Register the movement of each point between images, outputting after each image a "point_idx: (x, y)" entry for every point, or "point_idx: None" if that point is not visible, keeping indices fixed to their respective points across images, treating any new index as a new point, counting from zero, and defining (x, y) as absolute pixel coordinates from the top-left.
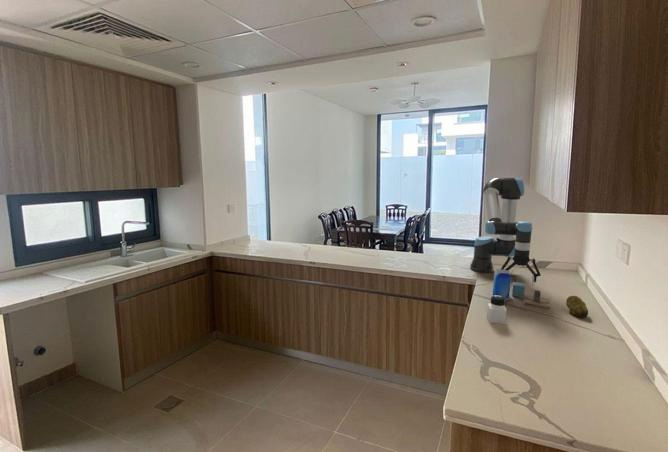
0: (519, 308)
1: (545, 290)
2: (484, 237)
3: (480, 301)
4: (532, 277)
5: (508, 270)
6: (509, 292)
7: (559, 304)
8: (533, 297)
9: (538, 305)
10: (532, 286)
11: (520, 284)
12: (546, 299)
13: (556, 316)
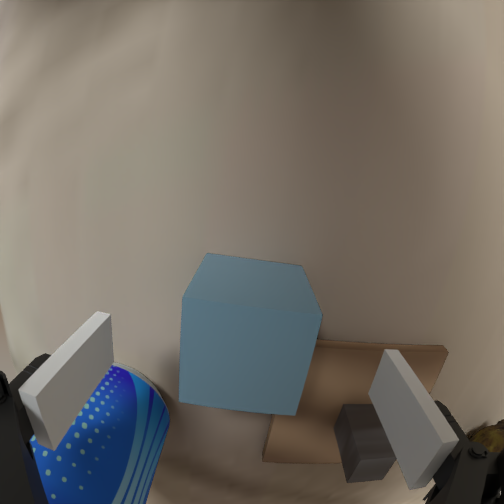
0: (227, 486)
1: (492, 115)
2: None
3: None
4: (420, 449)
5: (44, 491)
6: (160, 450)
7: (470, 377)
8: (358, 365)
9: (337, 461)
10: (378, 404)
11: (264, 373)
12: (432, 367)
13: (371, 498)
